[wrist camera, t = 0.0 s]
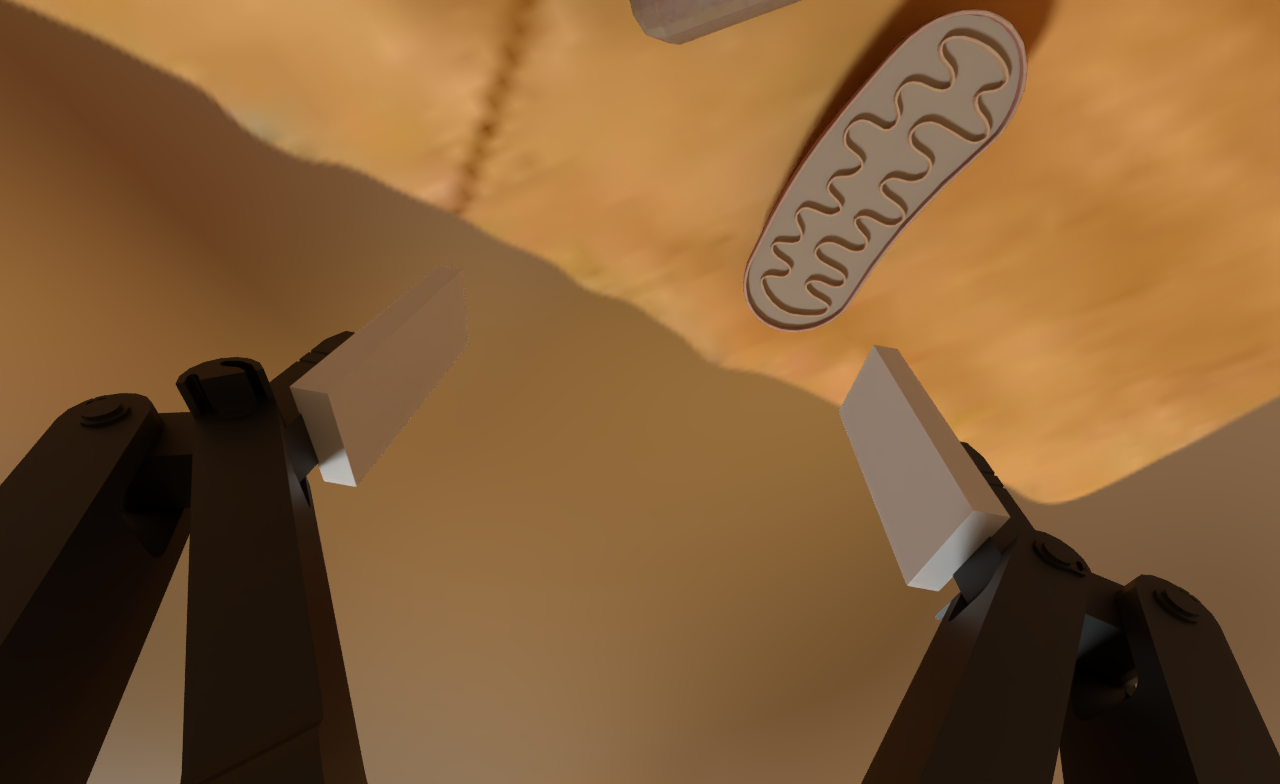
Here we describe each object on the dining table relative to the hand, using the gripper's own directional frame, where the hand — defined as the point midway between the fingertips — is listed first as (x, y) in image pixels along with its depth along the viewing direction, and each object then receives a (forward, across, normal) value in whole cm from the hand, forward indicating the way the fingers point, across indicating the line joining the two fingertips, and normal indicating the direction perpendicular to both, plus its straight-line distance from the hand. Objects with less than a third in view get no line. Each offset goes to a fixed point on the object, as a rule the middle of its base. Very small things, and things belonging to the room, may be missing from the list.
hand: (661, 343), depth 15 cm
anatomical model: (+28, +13, +1) cm, 31 cm away
